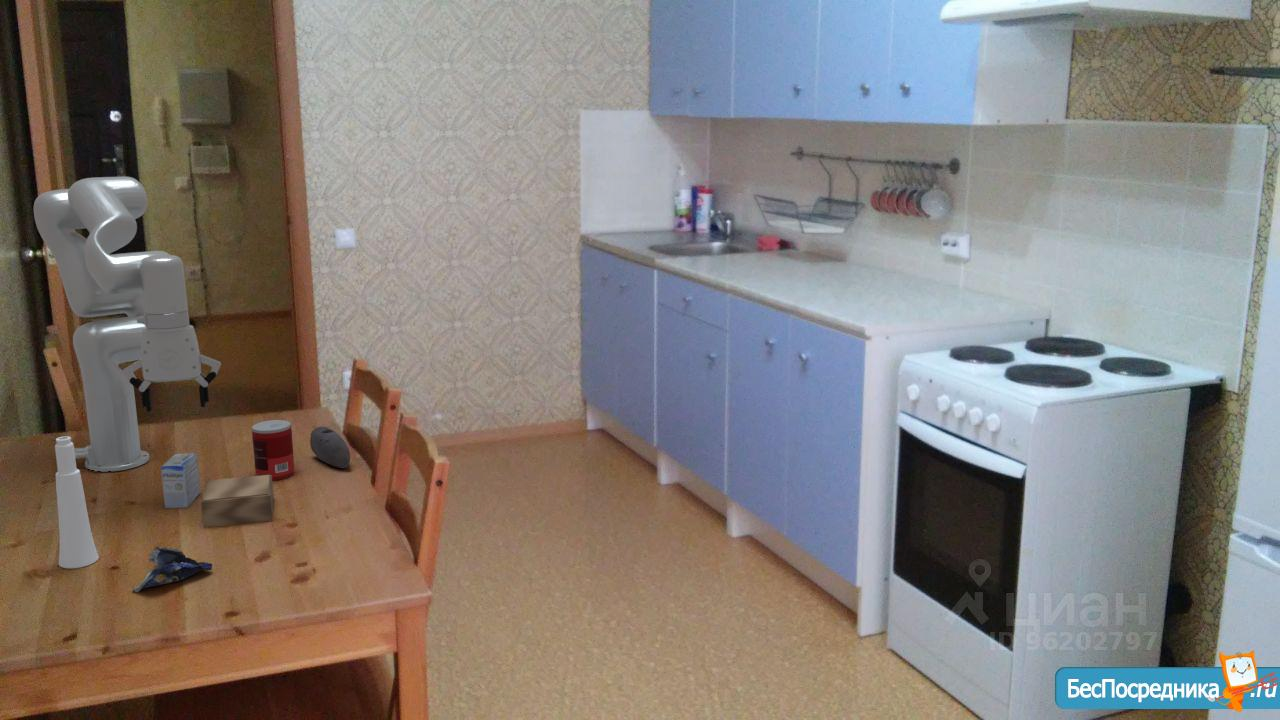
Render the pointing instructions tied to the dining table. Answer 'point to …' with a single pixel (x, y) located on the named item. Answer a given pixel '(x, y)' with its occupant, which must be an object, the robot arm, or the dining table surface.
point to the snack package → (170, 567)
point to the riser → (237, 501)
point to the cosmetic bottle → (72, 510)
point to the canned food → (273, 449)
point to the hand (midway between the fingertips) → (176, 407)
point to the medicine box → (180, 480)
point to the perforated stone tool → (330, 447)
